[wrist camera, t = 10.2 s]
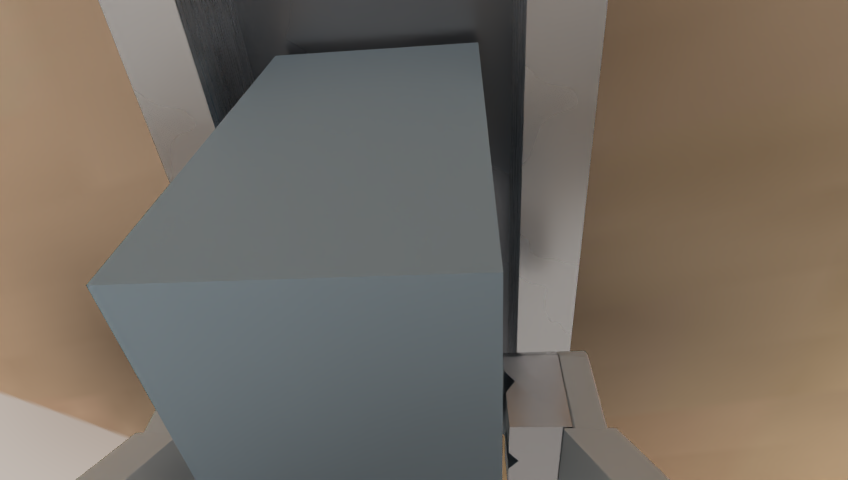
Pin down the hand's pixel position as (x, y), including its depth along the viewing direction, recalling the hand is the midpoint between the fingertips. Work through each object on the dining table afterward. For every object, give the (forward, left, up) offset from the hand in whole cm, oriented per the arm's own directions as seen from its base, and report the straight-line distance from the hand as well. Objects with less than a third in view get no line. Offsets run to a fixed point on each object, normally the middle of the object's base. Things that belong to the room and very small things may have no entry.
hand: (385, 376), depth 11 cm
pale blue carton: (0, 0, -4) cm, 4 cm away
